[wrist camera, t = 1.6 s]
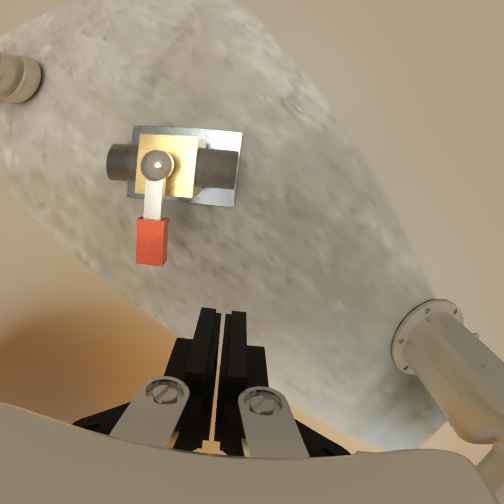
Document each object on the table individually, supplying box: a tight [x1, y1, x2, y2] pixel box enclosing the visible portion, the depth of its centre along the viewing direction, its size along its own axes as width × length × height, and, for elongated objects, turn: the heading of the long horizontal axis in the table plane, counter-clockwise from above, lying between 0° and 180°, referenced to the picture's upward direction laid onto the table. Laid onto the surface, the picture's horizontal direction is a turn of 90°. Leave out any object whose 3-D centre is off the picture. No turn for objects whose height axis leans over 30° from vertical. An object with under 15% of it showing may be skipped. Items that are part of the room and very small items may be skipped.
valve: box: [106, 126, 242, 207], centre depth 28 cm, size 12×8×10 cm, turn 83°
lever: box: [136, 150, 174, 266], centre depth 24 cm, size 9×2×2 cm, turn 173°
